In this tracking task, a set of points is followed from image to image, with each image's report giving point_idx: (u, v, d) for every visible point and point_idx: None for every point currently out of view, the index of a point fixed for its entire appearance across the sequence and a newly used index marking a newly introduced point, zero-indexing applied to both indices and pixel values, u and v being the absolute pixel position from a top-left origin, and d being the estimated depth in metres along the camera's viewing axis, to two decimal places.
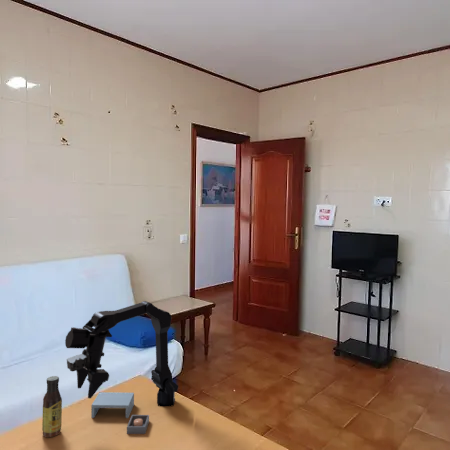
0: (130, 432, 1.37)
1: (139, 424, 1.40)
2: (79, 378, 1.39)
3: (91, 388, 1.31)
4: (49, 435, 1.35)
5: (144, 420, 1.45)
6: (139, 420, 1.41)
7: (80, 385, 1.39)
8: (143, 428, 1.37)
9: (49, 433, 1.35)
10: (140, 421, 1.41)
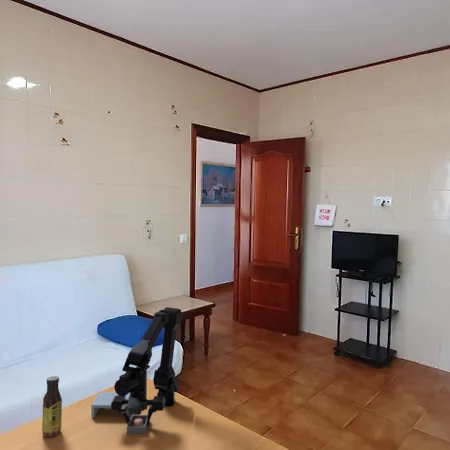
0: (130, 432, 1.37)
1: (139, 424, 1.40)
2: (128, 417, 1.40)
3: (150, 416, 1.40)
4: (49, 435, 1.35)
5: (144, 420, 1.45)
6: (139, 420, 1.41)
7: None
8: (143, 428, 1.37)
9: (49, 433, 1.35)
10: (140, 421, 1.41)
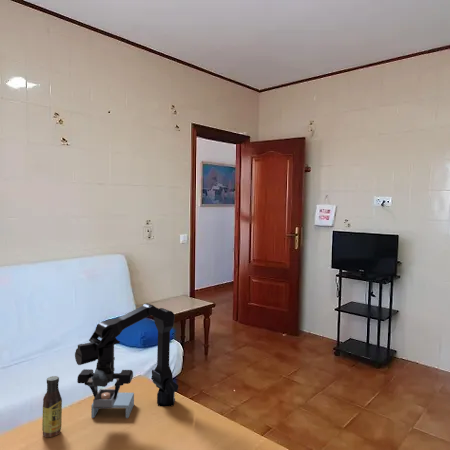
0: (96, 405, 1.36)
1: (106, 398, 1.39)
2: (95, 390, 1.40)
3: (118, 390, 1.40)
4: (49, 435, 1.35)
5: (112, 394, 1.44)
6: (106, 394, 1.41)
7: None
8: (110, 401, 1.36)
9: (49, 433, 1.35)
10: (107, 395, 1.40)
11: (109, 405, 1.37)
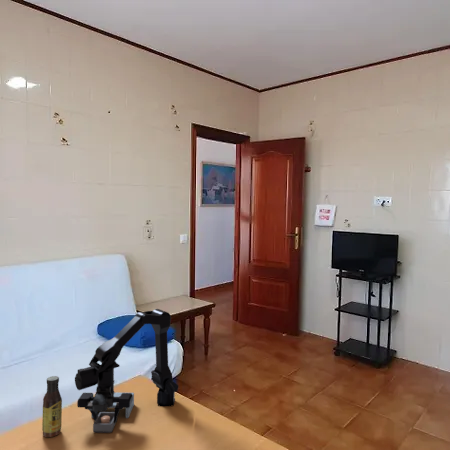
0: (96, 429, 1.37)
1: (106, 421, 1.40)
2: (95, 414, 1.40)
3: (117, 413, 1.40)
4: (49, 435, 1.35)
5: (112, 417, 1.45)
6: (106, 417, 1.41)
7: None
8: (109, 425, 1.37)
9: (49, 433, 1.35)
10: (107, 418, 1.41)
11: (109, 429, 1.37)
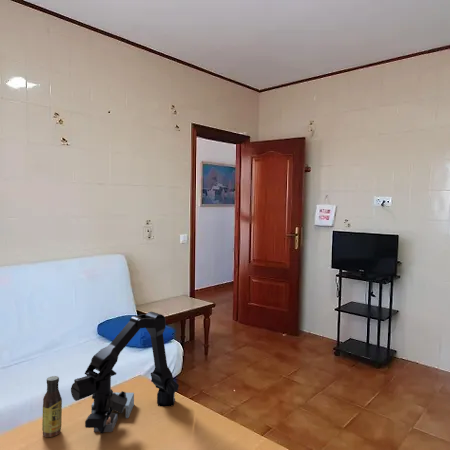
0: (97, 430, 1.38)
1: (107, 422, 1.41)
2: None
3: None
4: (49, 435, 1.35)
5: (113, 418, 1.46)
6: None
7: None
8: (110, 426, 1.38)
9: (49, 433, 1.35)
10: (108, 419, 1.42)
11: (109, 430, 1.38)
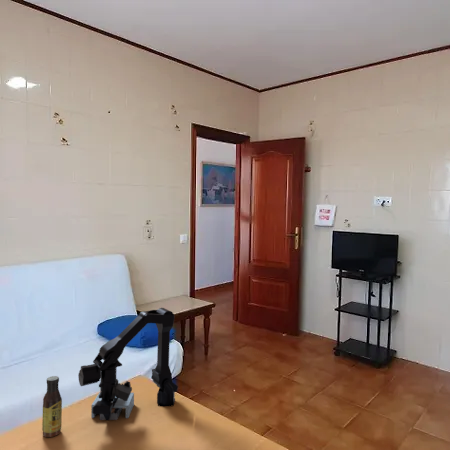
0: (103, 418, 1.46)
1: (112, 411, 1.48)
2: None
3: None
4: (49, 435, 1.35)
5: None
6: None
7: None
8: (115, 414, 1.46)
9: (49, 433, 1.35)
10: (113, 408, 1.49)
11: (115, 418, 1.46)
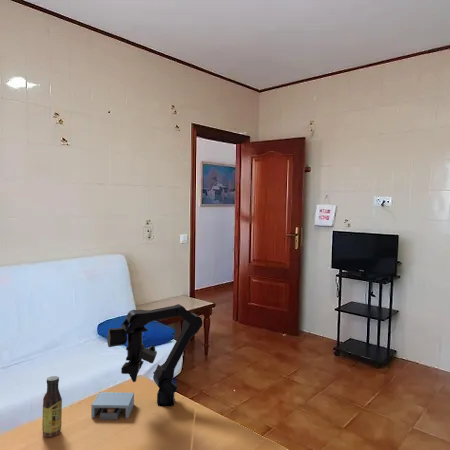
0: (103, 418, 1.46)
1: (112, 411, 1.48)
2: None
3: None
4: (49, 435, 1.35)
5: None
6: None
7: None
8: (115, 414, 1.46)
9: (49, 433, 1.35)
10: (113, 408, 1.49)
11: (115, 418, 1.46)
